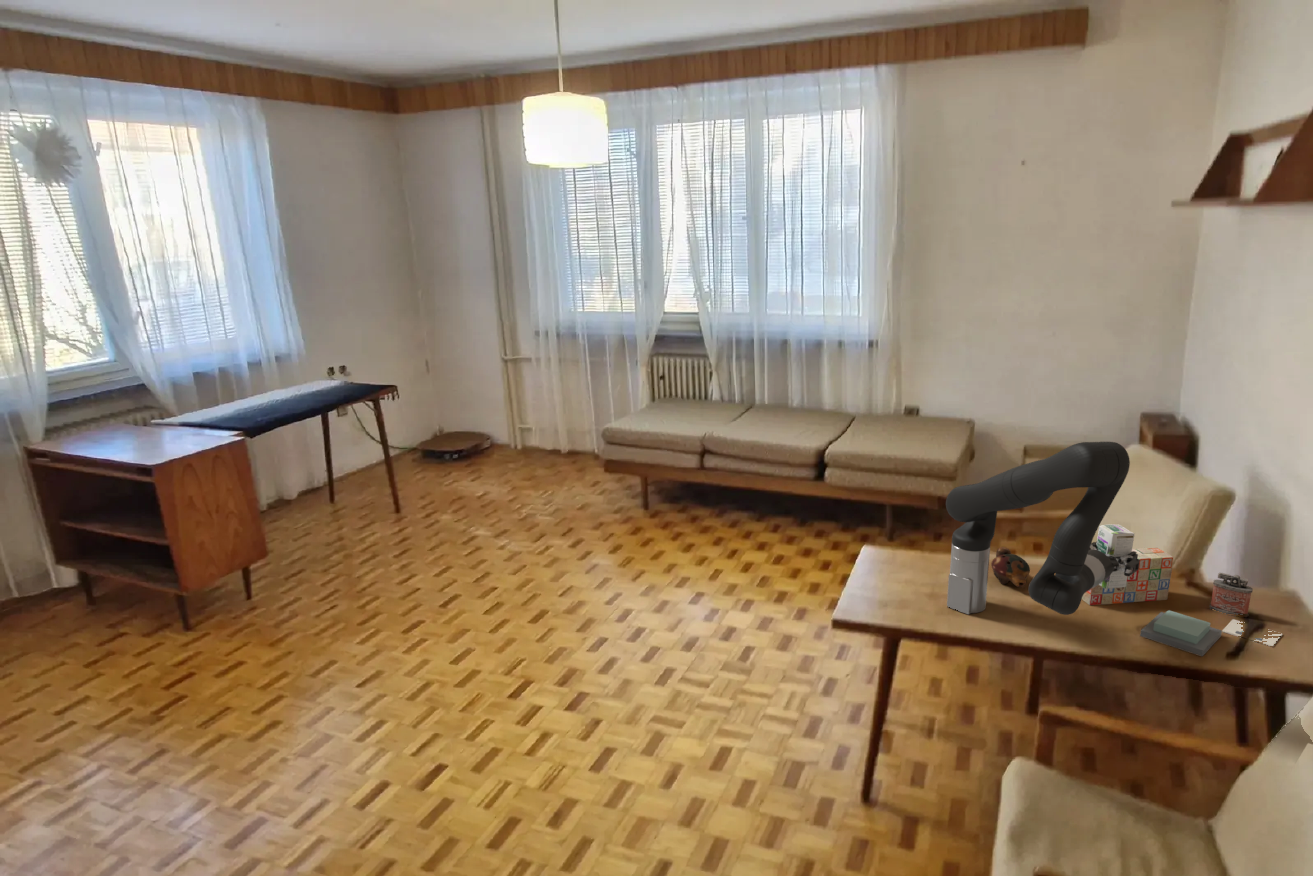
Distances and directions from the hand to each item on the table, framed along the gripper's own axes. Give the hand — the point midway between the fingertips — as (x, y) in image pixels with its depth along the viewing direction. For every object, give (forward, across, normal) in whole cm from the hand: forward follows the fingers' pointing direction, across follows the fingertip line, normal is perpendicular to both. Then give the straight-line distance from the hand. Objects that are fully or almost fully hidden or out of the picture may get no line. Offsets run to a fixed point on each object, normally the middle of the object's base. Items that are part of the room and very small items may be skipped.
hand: (1116, 549), depth 197 cm
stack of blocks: (+14, +2, +19) cm, 24 cm away
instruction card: (+16, -26, +18) cm, 36 cm away
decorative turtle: (+3, +26, +19) cm, 33 cm away
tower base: (+3, -16, +18) cm, 24 cm away
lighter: (+24, -20, +18) cm, 36 cm away
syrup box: (-2, 0, +8) cm, 9 cm away
